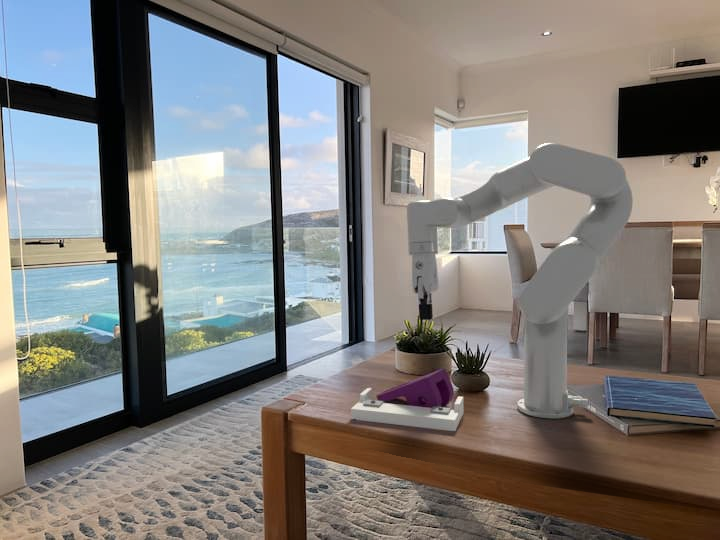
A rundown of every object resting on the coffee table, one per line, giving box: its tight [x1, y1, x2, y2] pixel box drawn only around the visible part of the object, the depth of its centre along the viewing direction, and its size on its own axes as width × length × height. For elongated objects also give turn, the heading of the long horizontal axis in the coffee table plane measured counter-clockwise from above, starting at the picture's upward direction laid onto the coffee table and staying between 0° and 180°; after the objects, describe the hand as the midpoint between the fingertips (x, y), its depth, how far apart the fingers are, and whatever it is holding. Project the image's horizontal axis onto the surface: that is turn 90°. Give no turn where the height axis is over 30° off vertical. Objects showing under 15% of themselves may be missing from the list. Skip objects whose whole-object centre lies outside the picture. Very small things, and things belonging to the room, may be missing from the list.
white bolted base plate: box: [350, 387, 464, 432], centre depth 119 cm, size 24×12×4 cm, turn 70°
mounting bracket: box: [375, 368, 455, 408], centre depth 125 cm, size 9×8×18 cm
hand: (426, 319), depth 133 cm, fingers closed
